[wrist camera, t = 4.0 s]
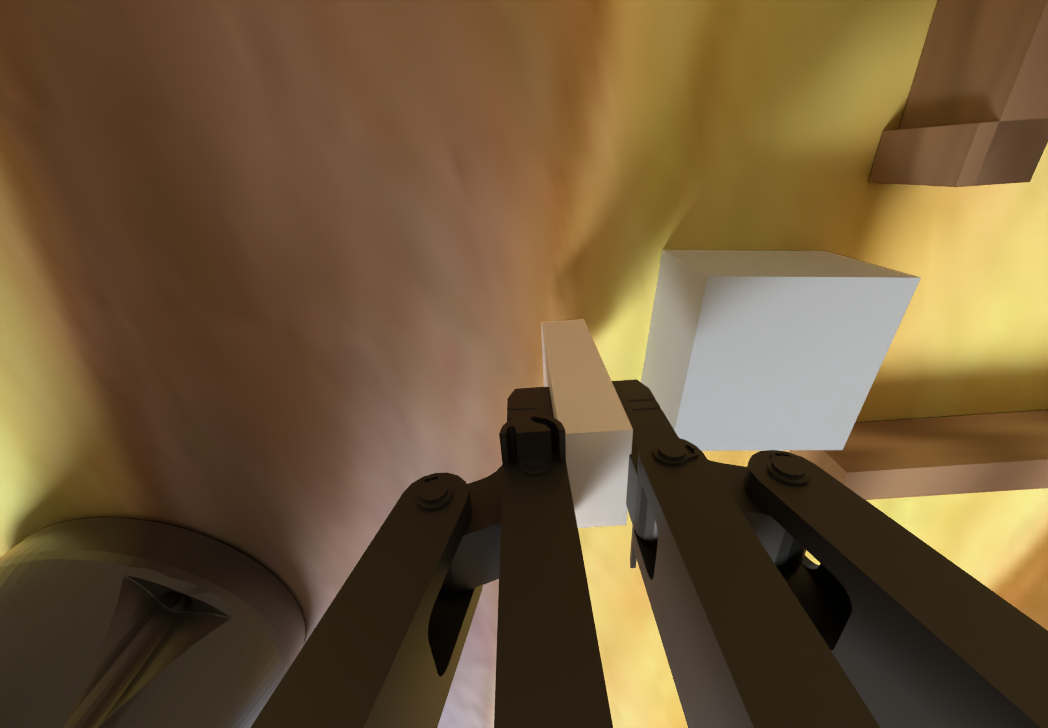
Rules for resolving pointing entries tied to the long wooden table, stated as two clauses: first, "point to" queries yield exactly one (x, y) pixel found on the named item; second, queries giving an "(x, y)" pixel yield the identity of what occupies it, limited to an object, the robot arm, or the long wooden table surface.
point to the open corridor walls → (955, 161)
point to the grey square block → (769, 345)
